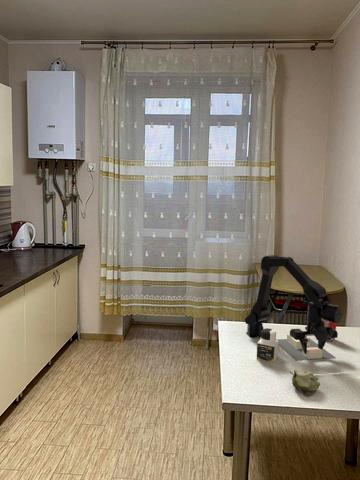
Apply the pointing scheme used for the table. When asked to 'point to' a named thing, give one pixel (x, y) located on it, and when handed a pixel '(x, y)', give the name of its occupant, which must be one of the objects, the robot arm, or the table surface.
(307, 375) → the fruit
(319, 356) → the stub
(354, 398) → the table surface
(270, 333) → the medicine bottle
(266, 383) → the table surface
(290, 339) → the ticket
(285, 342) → the mat
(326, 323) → the soda can
